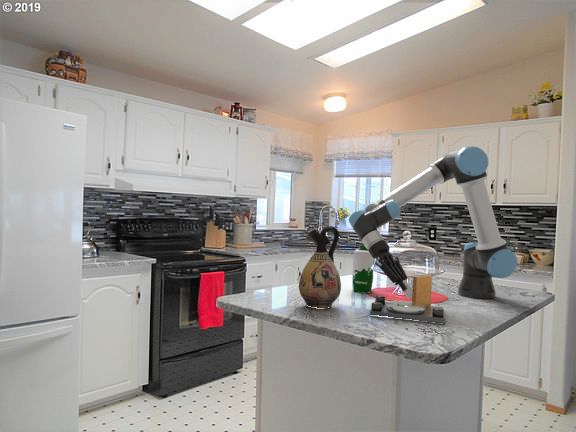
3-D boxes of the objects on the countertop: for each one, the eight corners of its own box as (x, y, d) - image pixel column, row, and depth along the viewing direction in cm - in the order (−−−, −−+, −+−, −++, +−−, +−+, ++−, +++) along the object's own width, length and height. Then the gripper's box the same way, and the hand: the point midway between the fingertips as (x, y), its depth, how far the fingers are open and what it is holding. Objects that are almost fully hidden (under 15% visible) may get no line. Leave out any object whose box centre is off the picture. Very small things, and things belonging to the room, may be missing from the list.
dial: (406, 315, 143) (408, 282, 143) (378, 306, 154) (379, 275, 154) (443, 309, 153) (445, 278, 153) (415, 302, 164) (416, 272, 164)
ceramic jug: (305, 313, 152) (308, 226, 151) (293, 302, 167) (295, 224, 166) (351, 311, 156) (354, 227, 155) (335, 301, 171) (337, 224, 170)
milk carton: (373, 290, 197) (375, 245, 196) (371, 293, 188) (372, 247, 188) (353, 288, 199) (355, 244, 199) (350, 292, 191) (352, 246, 190)
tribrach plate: (442, 312, 158) (442, 301, 158) (444, 324, 142) (444, 311, 142) (375, 306, 165) (375, 294, 165) (369, 316, 149) (370, 304, 149)
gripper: (379, 250, 175) (414, 300, 163) (360, 252, 166) (395, 305, 154) (391, 238, 170) (428, 289, 159) (372, 239, 161) (409, 293, 150)
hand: (412, 297), depth 157 cm, fingers closed
